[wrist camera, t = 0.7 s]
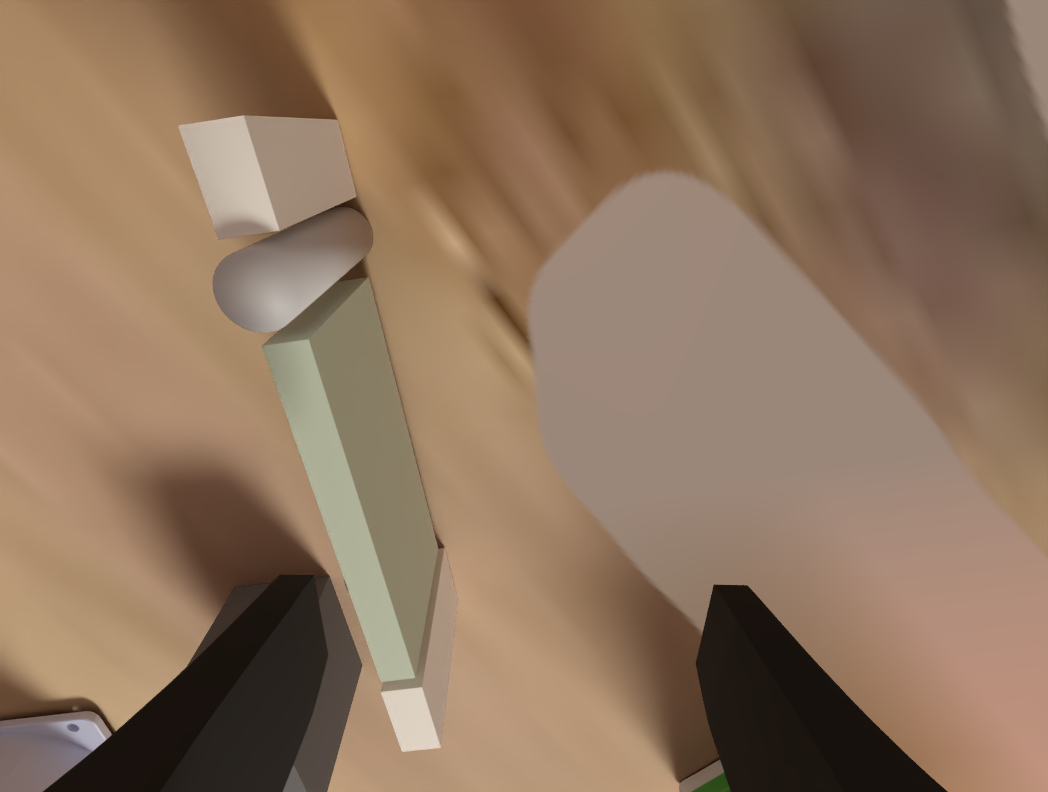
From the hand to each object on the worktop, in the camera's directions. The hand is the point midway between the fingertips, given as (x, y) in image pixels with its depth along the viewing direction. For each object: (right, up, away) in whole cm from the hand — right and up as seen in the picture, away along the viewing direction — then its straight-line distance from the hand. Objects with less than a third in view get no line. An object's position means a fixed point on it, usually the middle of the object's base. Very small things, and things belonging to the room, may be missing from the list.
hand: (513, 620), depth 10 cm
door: (-5, +3, +9) cm, 10 cm away
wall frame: (-4, +4, +9) cm, 10 cm away
